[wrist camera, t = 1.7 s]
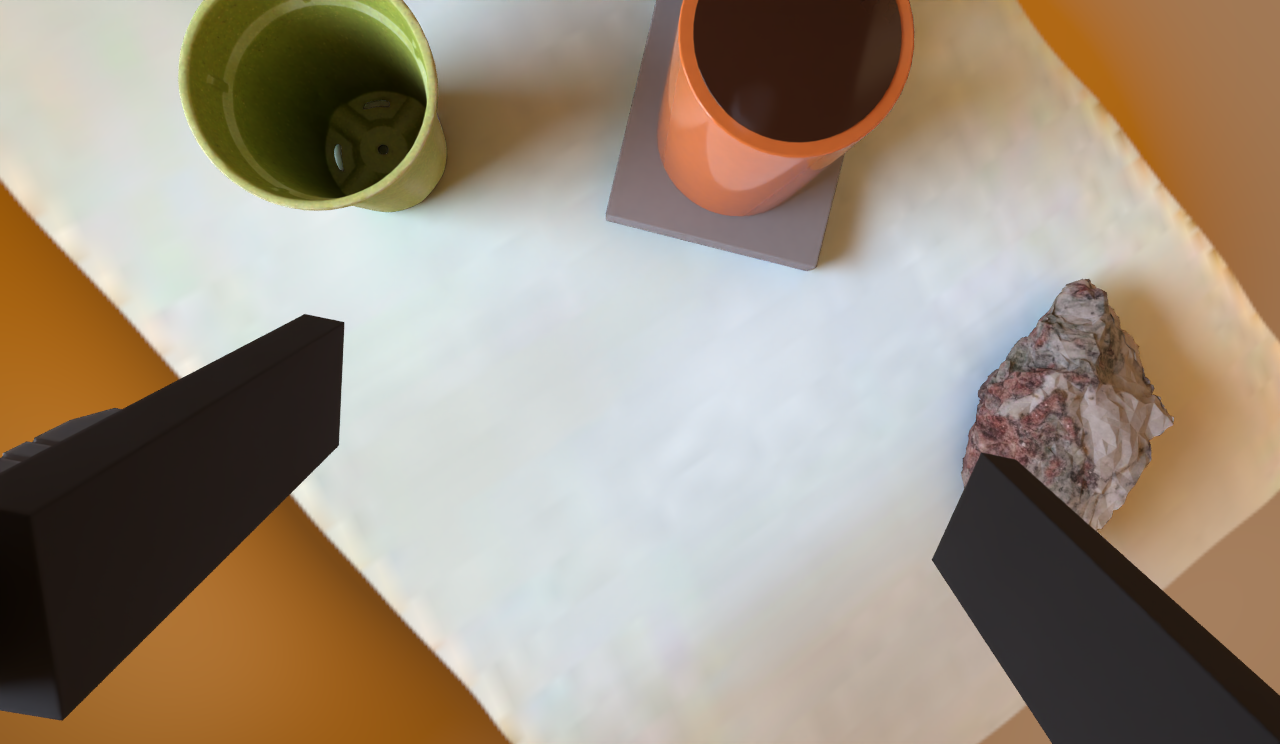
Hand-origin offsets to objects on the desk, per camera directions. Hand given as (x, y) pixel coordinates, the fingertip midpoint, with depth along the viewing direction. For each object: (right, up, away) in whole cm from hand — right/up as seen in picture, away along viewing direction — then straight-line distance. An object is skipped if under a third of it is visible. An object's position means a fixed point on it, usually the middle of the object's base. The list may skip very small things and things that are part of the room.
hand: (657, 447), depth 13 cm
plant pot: (-13, +13, +19) cm, 27 cm away
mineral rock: (+21, -1, +22) cm, 30 cm away
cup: (+5, +13, +19) cm, 23 cm away
